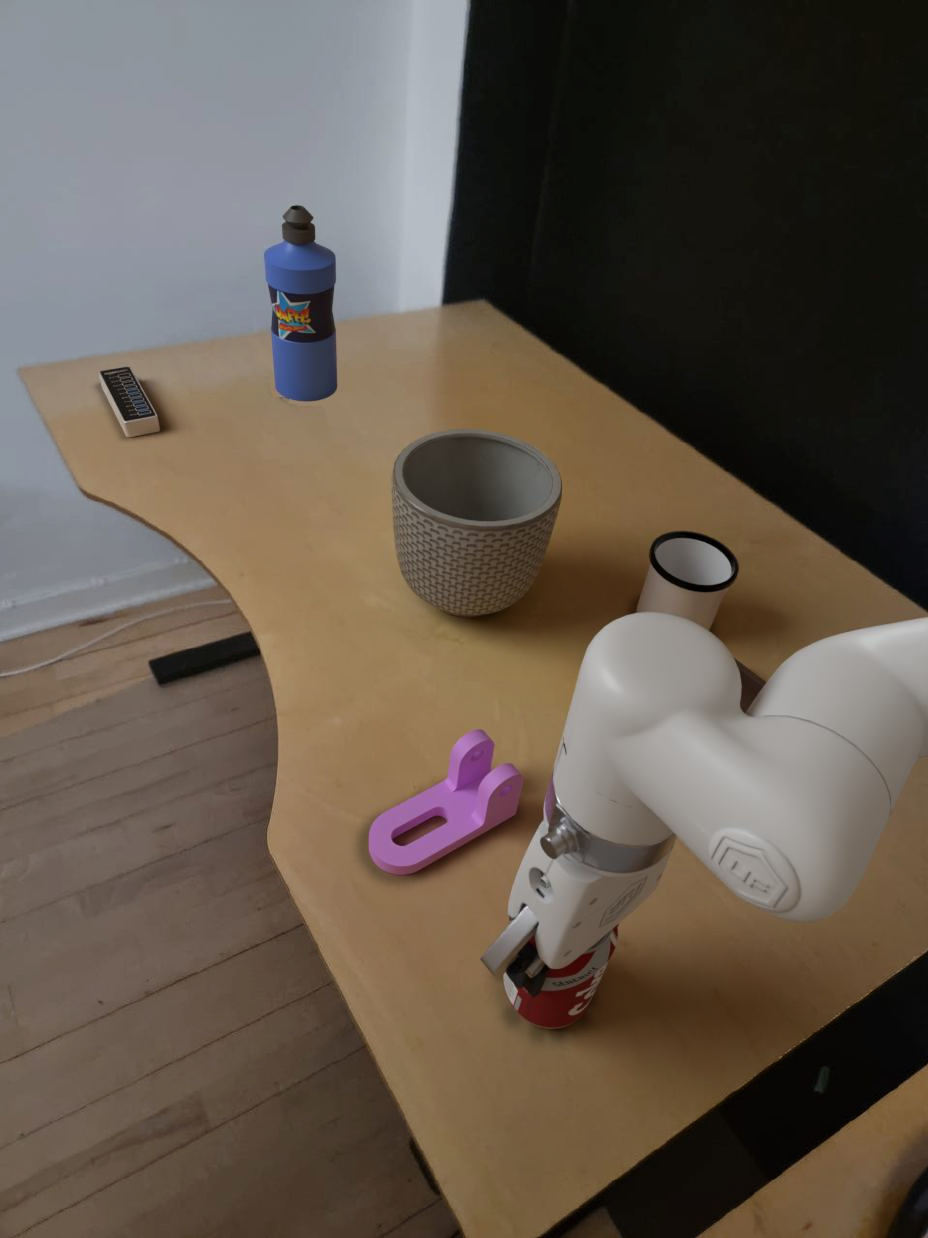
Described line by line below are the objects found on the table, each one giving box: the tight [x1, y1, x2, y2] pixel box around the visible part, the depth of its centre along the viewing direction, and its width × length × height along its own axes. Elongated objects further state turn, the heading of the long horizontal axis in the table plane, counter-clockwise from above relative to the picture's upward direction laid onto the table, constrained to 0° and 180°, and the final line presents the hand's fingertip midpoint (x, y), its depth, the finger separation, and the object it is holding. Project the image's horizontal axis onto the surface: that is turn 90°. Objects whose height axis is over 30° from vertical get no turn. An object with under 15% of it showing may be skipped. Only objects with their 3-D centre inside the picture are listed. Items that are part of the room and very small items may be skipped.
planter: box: [390, 428, 563, 618], centre depth 90 cm, size 17×17×16 cm
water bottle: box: [263, 204, 338, 403], centre depth 116 cm, size 9×9×25 cm
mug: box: [635, 530, 740, 631], centre depth 93 cm, size 12×10×9 cm
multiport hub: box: [98, 365, 161, 438], centre depth 116 cm, size 4×14×2 cm, turn 30°
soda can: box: [502, 925, 619, 1030], centre depth 60 cm, size 7×7×12 cm
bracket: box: [368, 728, 525, 876], centre depth 71 cm, size 13×6×7 cm, turn 125°
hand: (561, 944), depth 60 cm, fingers closed on soda can, 6 cm apart
